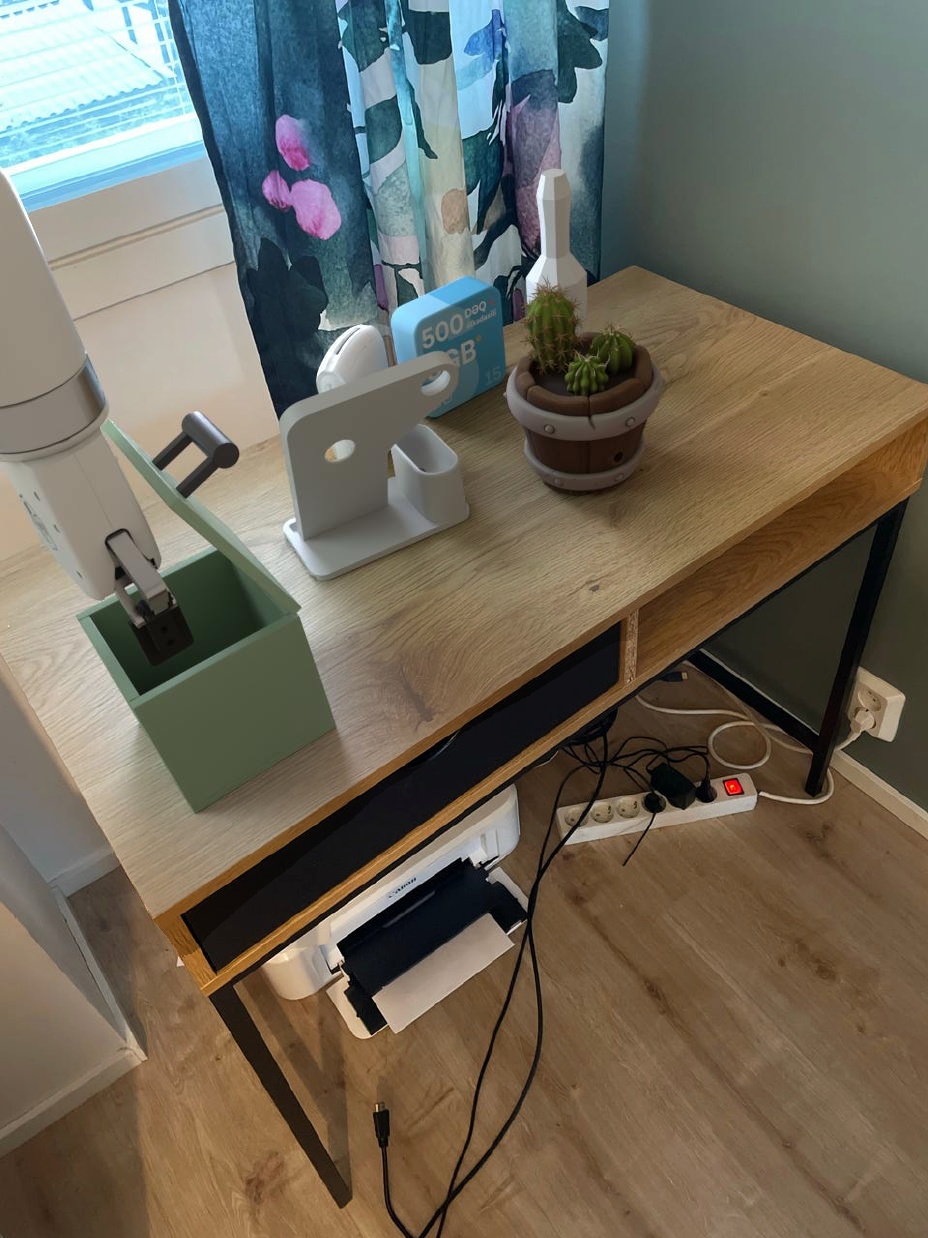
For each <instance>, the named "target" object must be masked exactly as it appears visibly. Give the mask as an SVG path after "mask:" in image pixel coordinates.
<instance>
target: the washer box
mask: <svg viewBox="0 0 928 1238" xmlns="http://www.w3.org/2000/svg"><path fill="white" fill-rule="evenodd" d="M158 573H159V574H160V576H161V578H162V579H163V581H164V582H165V584H166V585H167V587H168V589H169V590H170V592H171V593H172V595H173V596H174V598H175V599H176V600H177V603H178V605H179V607H180V609H181V611H182V614H183V616H184V618H185V620H186V623H187V625H188V627H189V629H190V631H191V634H192V636H193V638H194V642H193V644H192V645H191V646H189V647H188V648H186V649H184V650H183V651H181V652H179V653H178V654H176V655H174V656H173V657H171V658H169V659H168V660H166V661H164V662H163V663H161V664H159V665H157V666H151V664H150V663H149V662H148V661H147V659H146V657H145V655H144V653H143V652H142V650H141V648H140V646H139V644H138V642H137V640H136V638H135V636H134V634H133V632H132V630H131V628H130V627H129V625H128V623H127V622H128V621H130V620H131V618H130V616H129V615H128V613H127V612H126V610H125V608H124V607H123V605H122V604H121V602H120V601H119V599H118V598H117V596H116V595H115V594H113V595H112V596H110V597H108V598H106V599H104V600H102V601H100V602H99V603H96V604H95V605H92V606H90V607H88V608H87V609H84V610H82V611H81V612H79V613H76V614H75V618H76V620H77V621H78V623H79V625H80V626H81V628H82V630H83V631H84V633H85V634H86V637H87V638H88V640H89V641H90V643H91V645H92V646H93V648H94V650H95V651H96V653H97V655H98V657H99V658H100V660H101V661H102V663H103V665H104V667H105V669H106V670H107V672H108V673H109V675H110V677H111V679H112V680H113V682H114V683H115V685H116V687H117V689H118V690H119V692H120V694H121V695H122V697H123V698H124V700H125V702H126V704H127V705H128V708H129V709H130V710H131V712H132V714H133V715H134V717H135V719H136V721H137V722H138V724H139V726H140V727H141V729H142V730H143V732H144V734H145V736H146V737H147V738H148V740H149V742H150V743H151V745H152V747H153V748H154V750H155V752H156V753H157V755H158V756H159V758H160V760H161V761H162V763H163V765H164V766H165V768H166V769H167V771H168V773H169V775H170V776H171V778H172V779H173V781H174V783H175V785H176V786H177V787H178V789H179V791H180V792H181V794H182V796H183V797H184V799H185V800H186V802H187V804H188V805H189V808H190V809H191V811H192V812H193V814H194V815H195V814H197V813H199V812H201V811H203V810H204V809H206V808H207V807H209V806H210V805H212V804H214V803H215V802H217V801H218V800H220V799H222V798H223V797H225V796H227V795H228V794H230V793H232V792H234V791H235V790H236V789H238V788H240V787H241V786H243V785H244V784H246V783H248V782H249V781H251V780H253V779H254V778H256V777H257V776H259V775H261V774H262V773H264V772H265V771H268V770H269V769H270V768H271V767H272V768H273V766H275V765H277V764H278V763H280V762H282V761H283V760H285V759H286V758H288V757H290V756H292V755H293V754H295V753H296V752H298V751H300V750H301V749H303V748H305V747H306V746H308V745H309V744H311V743H312V742H314V741H315V740H317V739H319V738H321V736H323V735H325V734H327V733H329V732H330V731H332V730H333V729H335V728H336V727H337V724H336V720H335V718H334V715H333V712H332V709H331V705H330V702H329V700H328V697H327V694H326V691H325V688H324V685H323V681H322V680H321V676H320V673H319V670H318V666H317V665H316V662H315V658H314V655H313V652H312V649H311V647H310V643H309V641H308V636H307V634H306V632H305V628H304V625H303V623H302V619H301V616H300V615H299V613H298V612H297V613H296V614H295V615H293V614H292V613H291V612H289V611H288V610H287V609H286V608H285V607H284V606H282V605H281V604H280V603H279V602H278V601H277V600H275V599H274V598H273V597H272V596H271V595H270V594H269V593H267V592H266V591H265V590H264V589H263V588H262V587H260V586H259V585H258V584H257V583H256V582H255V581H253V580H252V579H251V578H250V577H249V576H248V575H247V574H245V573H244V572H243V571H242V570H241V569H240V568H238V567H237V566H236V565H235V564H234V563H233V562H231V561H230V560H229V559H228V558H227V557H226V556H225V555H223V554H222V553H221V552H220V551H219V550H218V549H216V548H215V547H214V546H213V545H212V546H209V547H207V548H205V549H204V550H201V551H199V552H197V553H196V554H193V555H192V556H190V557H188V558H186V559H183V560H182V561H180V562H178V563H176V564H173V565H171V566H170V567H168V568H166V569H164V570H162V571H160V572H158ZM125 590H126V591H127V593H128V594H129V596H130V598H131V599H132V601H133V602H134V604H135V605H136V607H137V604H138V602H139V601H141V600H143V599H142V598H141V596H140V593H139V591H138V589H137V588H136V586H135V585H132V586H130V587H128V588H127V589H126V588H125Z"/></svg>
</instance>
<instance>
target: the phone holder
mask: <svg viewBox="0 0 928 1238" xmlns="http://www.w3.org/2000/svg"><path fill="white" fill-rule="evenodd" d="M438 371H443V373H442V374H441V375H440V376H439V377H438V378H437V379H436V380H435V381H434V382H432V383H430V384H428V385H426V386H422V385H423V383H424V381H425V380H426V379H427V378H428V377H429V376H430V375H432V374H433V373H435V372H438ZM458 376H459V371H458V368H457V367H456V365H455V364H454V363H453V361H452V360H451V358H450V357H449V356H448V354H447V353H445V352H443V351H434V352H430V353H428V354H425V355H422V356H419V357H417V358H414V359H411V360H409V361H406V362H403V363H401V364H398V363H397V364H395V365H393V366H390V367H389V368H387V369H384V370H382V371H379V372H376V373H373V374H371V375H368V376H365V377H363V378H360V379H357V380H355V381H352V382H349V383H347V384H344V385H341V386H339V387H336V388H333V389H331V390H328V391H325V392H323V393H320V394H319V393H317V394H314V395H313V396H309V397H307V398H304V399H302V400H299V401H297V402H295V403H293V404H291V405H290V406H289V407H287V408H286V410H285V411H284V412H283V413H282V414H281V416H280V418H279V422H278V429H279V433H280V440H281V446H282V451H283V456H284V463H285V468H286V473H287V478H288V485H289V490H290V497H291V501H292V508H293V512H294V517H292V518H290V519H288V520H287V521H286V522H284V524H283V526H282V529H283V533H284V537H285V539H287V541H288V543H289V544H290V545H291V547H292V549H293V550H294V552H295V553H296V554H297V556H298V558H299V559H300V560H301V562H302V564H303V565H304V566H305V568H306V570H307V571H308V572H309V574H310V575H311V577H314V578H316V581H320V582H325V581H330V580H333V579H335V578H337V577H339V576H342V575H344V574H346V573H349V572H352V571H353V570H356V569H358V568H361V567H362V566H365V565H367V564H369V563H371V562H374V561H376V560H378V559H380V558H383V557H385V556H387V555H390V554H392V553H394V552H397V551H398V550H401V549H403V548H406V547H409V546H410V545H412V544H415V543H417V542H419V541H422V540H424V539H426V538H429V537H431V536H433V535H435V534H437V533H441V532H443V531H444V530H446V529H449V528H451V527H453V526H456V525H458V524H460V523H463V522H465V521H466V520H468V518H469V517H470V506H469V504H468V503H467V501H466V497H465V489H464V480H463V473H462V466H461V459H460V456H459V455H458V454H457V453H456V451H454V449H452V447H450V446H449V445H448V444H447V443H446V441H444V440H443V439H442V438H441V437H440V436H439V435H438V434H437V433H436V432H435V431H434V430H433V429H432V428H431V427H429V426H428V425H426V424H422V423H421V422H422V421H423V420H424V419H425V418H426V417H428V415H429V414H430V413H431V412H432V411H433V410H434V409H435V408H436V407H438V406H439V405H440V404H441V403H442V402H443V401H444V400H445V399H447V398H448V397H449V396H450V395H451V394H452V393H453V392H454V390H455V389H456V387H457V384H458ZM342 440H351V441H353V442H354V446H352V447H351V448H350V449H349V454H348V455H347V456H346V457H344V458H342V459H340V460H339V459H336V460H329V458H326V454H327V451H328V450H329V449H330V448H331V447H332V445H333V444H335V443H337V442H339V441H342ZM389 453H391V458H392V459H391V460H392V464H393V468H394V474H395V475H393V476H392V477H389V475H388V474H389V471H388V469H389V468H388V463H389V462H388V458H389V457H388V455H389Z"/></svg>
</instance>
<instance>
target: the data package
mask: <svg viewBox="0 0 928 1238" xmlns="http://www.w3.org/2000/svg"><path fill="white" fill-rule="evenodd" d="M502 309H503V308H502V296H501V293H500V291H499V289H498V288H497V287H495V286H494V285H491V284H489V283H487V282H485V281H482V280H481V279H478V278H476V277H475V276H471V275H464V276H462V277H459V278H458V279H455V280H453V281H451V282H449V283H447V284H444V285H442V286H441V287H438V288H435V289H434V290H432V291H430V292H427V293H425V294H423V295H421V296H419V297H417V298H415V299H412V300H411V301H408V302H406V303H404V304H402V305H400V306H399V307H397V308H396V309H395V310H394V311H393V313H392V315H391V319H390V327H391V334H392V339H393V345H394V351H395V357H396V363H397V365H398V364H401V363H403V362H406V361H409V360H411V359H414V358H417V357H419V356H422V355H425V354H428V353H430V352H434V351H443V352H445V353H447V354H448V356H449V357H450V358H451V360H452V361H453V363H454V364H455V365H456V367H457V368H458V371H459V376H458V384H457V387H456V389H455V390H454V392H453V393H452V394H451V395H450V396H449V397H448V398H447V399H445V400H444V401H443V402H442V403H441V404H440V405H439V406H438V407H436V408H435V409H434V410H433V411H432V412H431V413H430V414H429V415H427V417H430V418H438V417H440V416H442V415H444V414H446V413H447V412H449V411H451V410H453V409H455V408H457V407H459V406H461V405H463V404H464V403H466V402H468V401H470V400H471V399H473V398H475V397H477V396H479V395H481V394H483V393H485V392H486V391H488V390H491V389H492V388H495V387H496V386H498V385H499V384H500V383H502V381H503V380H504V378H505V376H506V373H507V362H506V359H507V358H506V348H505V335H504V322H503V310H502ZM442 373H443V371H438V372H435V373H433V374H432V375H430V376H429V377H428V378H427V379H426V380H425V381H424V383H423V385H422V386H426V385H428V384H430V383H432V382H434V381H435V380H436V379H437V378H438V377H439V376H440V375H441V374H442Z"/></svg>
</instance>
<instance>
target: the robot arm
mask: <svg viewBox="0 0 928 1238" xmlns="http://www.w3.org/2000/svg"><path fill="white" fill-rule="evenodd" d="M56 281H57V280H56V279H55V277H54V275H53V273H52V269H51V267H50V264H49V263H48V261H47V258H46V256H45V254H44V251H43V249H42V246H41V243H40V241H39V240H38V237H37V235H36V232H35V230H34V228H33V225H32V223H31V221H30V219H29V216H28V214H27V211H26V209H25V206H24V205H23V201H22V200H21V198H20V196H19V193H18V190H17V189H16V187H15V185H14V183H13V181H12V179H11V177H10V176H9V175H8V174H7V172H6V171H5V170H4V169H3V168H2V167H1V166H0V463H1V465H2V468H3V469H4V472H5V474H6V475H7V477H8V480H9V481H10V483H11V486H12V487H13V489H14V491H15V493H16V494H17V497H18V499H19V501H20V502H21V505H22V506H23V509H24V510H25V513H26V514H27V516H28V519H29V520H30V522H31V524H32V526H33V528H34V530H35V532H36V534H37V536H38V537H39V539H40V541H41V542H42V544H43V545H44V546H45V548H46V549H47V551H48V552H49V553H50V554H51V555H52V557H53V558H54V559H55V560H56V561H57V563H58V564H59V565H60V566H61V568H62V569H63V570H64V571H65V572H66V574H67V575H68V576H69V577H70V578H71V579H72V581H73V582H74V584H76V585H77V586H78V587H79V588H80V590H81V591H82V592H83V593H84V594H85V595H86V596H87V597H89V599H91V600H95V601H100V602H102V601H104V600H106V599H105V598H107V597H109V596H111V595H116V596H117V598H118V599H119V601H120V602H121V604H122V605H123V607H124V608H125V610H126V612H127V613H128V615H129V616H130V618H131V620H130V621H128V622H127V623H128V625H129V627H130V628H131V630H132V632H133V634H134V636H135V638H136V640H137V642H138V644H139V646H140V648H141V650H142V652H143V653H144V655H145V657H146V659H147V661H148V662H149V663H150V664H151V666H157V665H159V664H161V663H163V662H164V661H166V660H168V659H169V658H171V657H173V656H174V655H176V654H178V653H179V652H181V651H183V650H184V649H186V648H188V647H189V646H191V645H192V644H193V642H194V638H193V636H192V634H191V631H190V629H189V627H188V625H187V623H186V620H185V618H184V616H183V614H182V611H181V609H180V607H179V605H178V603H177V600H176V599H175V598H174V596H173V595H172V593H171V592H170V590H169V589H168V587H167V585H166V584H165V582H164V581H163V579H162V578H161V576H160V574H159V573H160V572H159V571H158V570H159V569H160V567H161V564H162V560H163V559H162V555H161V552H160V549H159V546H158V543H157V541H156V539H155V536H154V534H153V532H152V530H151V527H150V525H149V523H148V520H147V518H146V516H145V514H144V512H143V510H142V507H141V505H140V503H139V501H138V499H137V497H136V494H135V492H134V491H133V489H132V486H131V485H130V482H129V480H128V478H127V477H126V475H125V472H124V471H123V468H122V466H121V465H120V462H119V457H117V456H116V454H115V452H114V450H113V449H112V446H111V444H110V443H109V441H108V439H107V437H106V435H105V432H104V430H103V429H102V428H101V426H102V425H104V424H105V422H106V420H107V418H108V415H109V412H110V404H109V401H108V399H107V396H106V394H105V392H104V389H103V387H102V384H101V383H100V380H99V378H98V375H97V373H96V370H95V368H94V366H93V363H92V362H91V360H90V357H89V355H88V353H87V350H86V348H85V346H84V343H83V341H82V338H81V336H80V333H79V331H78V329H77V327H76V324H75V322H74V320H73V317H72V316H71V315H72V314H71V313H70V311H69V309H68V307H67V305H66V302H65V300H64V298H63V295H62V293H61V291H60V288H59V286H58V284H57V282H56ZM132 584H134V585H135V586H136V588H137V589H138V591H139V593H140V596H141V598H142V599H143V600H141V601H139V602H138V604H137V607H136V605H135V604H134V602H133V601H132V599H131V598H130V596H129V594H128V593H127V591H126V588H127V587H129V586H130V585H132ZM134 585H133V586H134Z"/></svg>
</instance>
